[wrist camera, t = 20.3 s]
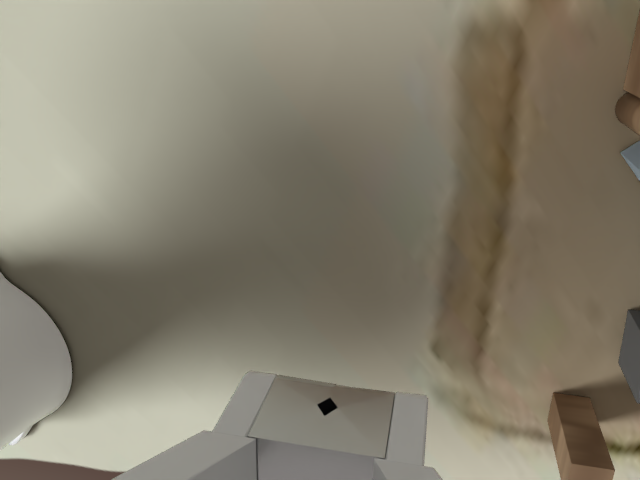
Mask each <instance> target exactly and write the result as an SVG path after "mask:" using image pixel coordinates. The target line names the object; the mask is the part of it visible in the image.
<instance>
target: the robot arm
mask: <svg viewBox="0 0 640 480" xmlns="http://www.w3.org/2000/svg"><path fill="white" fill-rule="evenodd" d="M71 382H72V365H71V359H70V355H69V351H68V348H67V346H66V343H65V341H64V339H63V337H62V335H61V333H60V331H59V329H58V328H57V326H56V325H55V323H54V322H53V321H52V319H51V318H50V317H49V315H48V314H47V313H46V312H45V311H44V310H43V309H42V308H41V307H40V306H39V305H38V304H37V303H36V302H35V301H34V300H33V299H32V298H30V297H29V296H28V295H27V294H25V293H24V292H22V291H21V290H20V289H18V288H17V287H15V286H14V285H13V284H11V283H10V282H9V281H8V280H7V279H6V278H5V277H4V276H3V275H2V273H1V272H0V451H1V450H2V449H3V448H4V447H6V446H7V445H14V444H16V443H18V442H19V441H20V440H21V439H23V438H24V437H25V436H26V435H27V434H28V432H29V431H30V429H31V428H32V426H33V425H34V424H35V423H37V422H38V421H40V420H41V419H43V418H44V417H46V416H48V415H49V414H51V413H53V412H54V411H56V410H57V409H58V408H59V407H60V406H61V405H62V404H63V402H64V401H65V399H66V397H67V395H68V393H69V390H70V387H71ZM427 410H428V398H427V396H426V395H420V394H411V393H402V392H396V394H395V393H394V392H386V391H379V390H371V389H364V388H356V387H349V386H341V385H336V384H332V383H326V382H319V381H313V380H307V379H301V378H295V377H289V376H283V375H278V376H277V375H276V374H269V373H262V372H255V371H249V372H247V373H246V374H245V375H244V376H243V378H242V380H241V381H240V383H239V385H238V387H237V388H236V390H235V392H234V394H233V396H232V397H231V399H230V401H229V403H228V404H227V406H226V408H225V410H224V411H223V413H222V415H221V417H220V419H219V420H218V422H217V424H216V426H215V427H214V429H213V431H212V432H211V431H204V430H203V431H202V432H200V433H198V434H196V435H194V436H192V437H190V438H188V439H187V440H185V441H183V442H181V443H179V444H177V445H175V446H173V447H172V448H170V449H168V450H166V451H164V452H162V453H160V454H158V455H157V456H155V457H153V458H151V459H149V460H147V461H145V462H143V463H142V464H140V465H138V466H136V467H134V468H132V469H130V470H128V471H127V472H125V473H123V474H121V475H119V476H117V477H116V478H114V479H112V480H442V478H441V477H440V476H439V474H438V473H437V472H436V470H435V469H434V468H432V467H426V466H424V458H425V442H426V426H427Z"/></svg>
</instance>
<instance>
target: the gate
mask: <svg viewBox="0 0 640 480" xmlns="http://www.w3.org/2000/svg"><path fill="white" fill-rule="evenodd" d="M620 153H621V155H622V156H623V158H624V159H625V160H626V162H627V163H628V165H629V166H630V168H631V169H632V171H633V172H634V174H635V175H636V177H637V178H638V179H639V181H640V141H638V142H636V143H635V144H633V145H632V146H630V147H628V148H627V149H625V150H624V151H622V152H620Z"/></svg>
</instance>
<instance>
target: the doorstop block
mask: <svg viewBox="0 0 640 480" xmlns="http://www.w3.org/2000/svg"><path fill="white" fill-rule="evenodd" d="M618 363H619V365H620V367H621V370H622V372H623V374H624V376H625V378H626V380H627V383H628V385H629V387H630V389H631V391H632V394H633V396H634V398H635V400H636V402H637V403H639V404H640V310H628V313H627V318H626V324H625V329H624V334H623V340H622V345H621V351H620V356H619V362H618Z"/></svg>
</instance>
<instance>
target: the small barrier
mask: <svg viewBox="0 0 640 480" xmlns="http://www.w3.org/2000/svg"><path fill="white" fill-rule="evenodd" d="M623 90H625V91H627V93H626V94H624V95H623V96H622V97H621V98H620V99H619V100H618V102H617V104H616V108H615V113H616V116H617V118H618V120H619V121H620V122H621V123H623V124H624V125H626V126H627V127H628V128H630V129H631V130H633V131H634V132H635V133H637V134H638V135H640V11H639V16H638V20H637V25H636V30H635V35H634V40H633V44H632V49H631V54H630V59H629V63H628V68H627V73H626V78H625V82H624V87H623ZM548 425H549V429H550V433H551V438H552V442H553V447H554V451H555V455H556V460H557V464H558V468H559V473H560V477H561V480H612V479H613V476H614V472H615V469H614V466H613V463H612V461H611V458H610V455H609V452H608V449H607V446H606V443H605V440H604V438H603V435H602V432H601V429H600V426H599V423H598V420H597V417H596V415H595V412H594V409H593V406H592V403H591V400H590V398H589V397H581V396H574V395H567V394H559V393H553V396H552V401H551V406H550V411H549V416H548Z"/></svg>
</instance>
